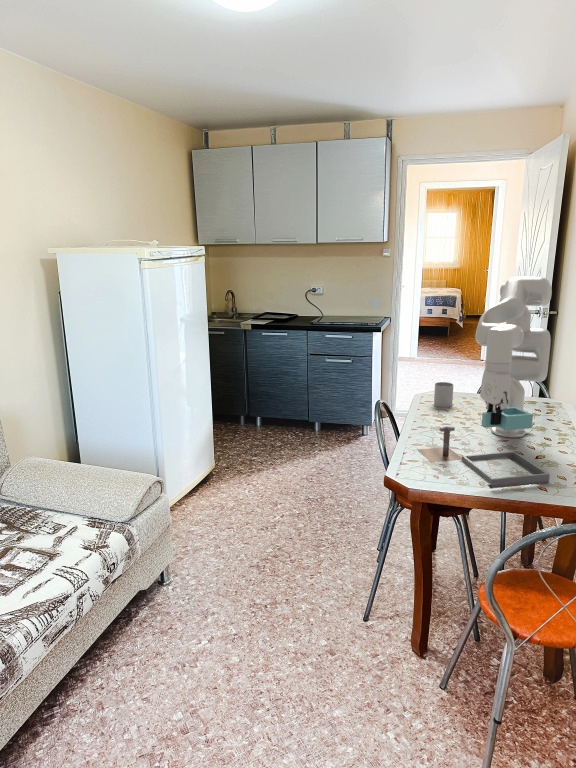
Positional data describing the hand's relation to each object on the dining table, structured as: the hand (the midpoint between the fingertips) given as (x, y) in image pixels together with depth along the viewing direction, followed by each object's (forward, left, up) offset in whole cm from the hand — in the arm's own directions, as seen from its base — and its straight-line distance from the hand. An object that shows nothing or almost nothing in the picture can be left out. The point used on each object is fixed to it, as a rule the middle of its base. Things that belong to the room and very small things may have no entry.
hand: (493, 422), depth 169 cm
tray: (-5, 0, -18) cm, 19 cm away
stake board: (+10, -16, -18) cm, 26 cm away
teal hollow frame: (-4, 0, -1) cm, 4 cm away
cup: (-20, -77, -18) cm, 82 cm away
